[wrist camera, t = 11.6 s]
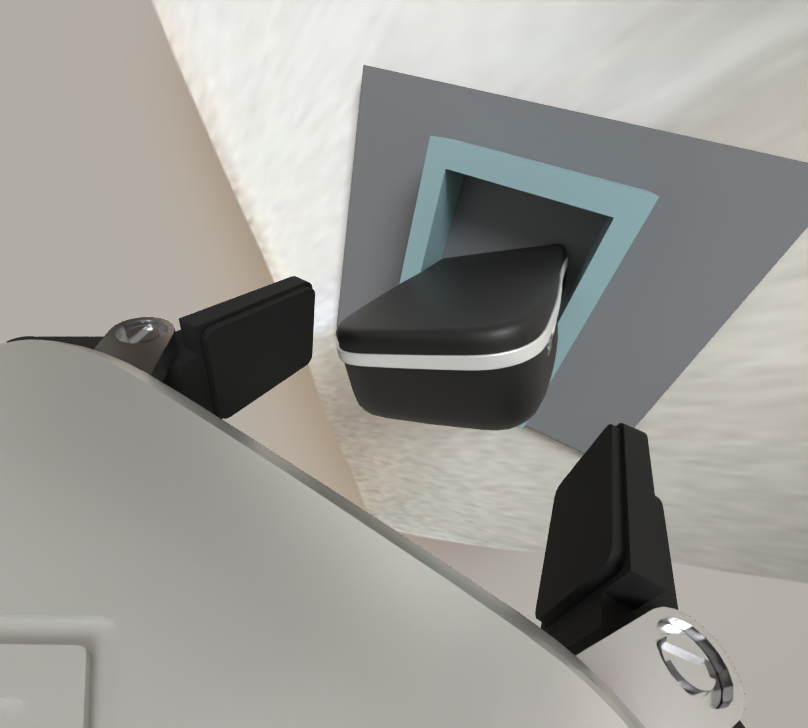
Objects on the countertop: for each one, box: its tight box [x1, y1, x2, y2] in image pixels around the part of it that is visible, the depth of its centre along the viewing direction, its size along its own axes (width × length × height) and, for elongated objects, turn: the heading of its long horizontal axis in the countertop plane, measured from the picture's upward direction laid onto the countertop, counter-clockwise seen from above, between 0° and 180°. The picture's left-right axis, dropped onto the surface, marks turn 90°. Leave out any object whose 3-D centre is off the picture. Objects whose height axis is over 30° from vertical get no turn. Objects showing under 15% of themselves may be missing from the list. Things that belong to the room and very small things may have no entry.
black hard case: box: [336, 244, 568, 430], centre depth 15 cm, size 7×4×11 cm, turn 100°
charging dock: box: [336, 65, 808, 453], centre depth 18 cm, size 20×16×4 cm
